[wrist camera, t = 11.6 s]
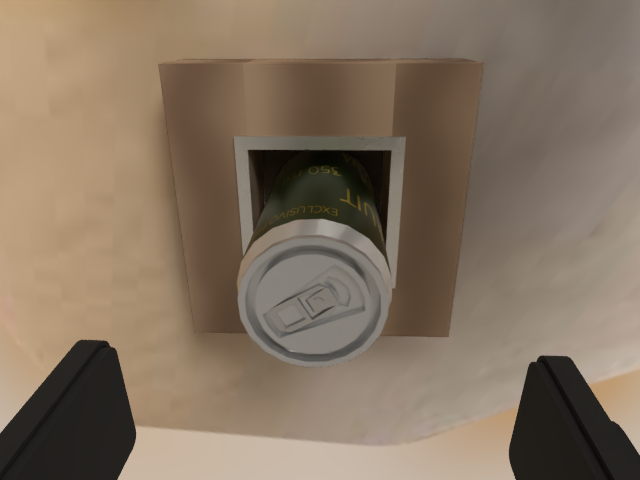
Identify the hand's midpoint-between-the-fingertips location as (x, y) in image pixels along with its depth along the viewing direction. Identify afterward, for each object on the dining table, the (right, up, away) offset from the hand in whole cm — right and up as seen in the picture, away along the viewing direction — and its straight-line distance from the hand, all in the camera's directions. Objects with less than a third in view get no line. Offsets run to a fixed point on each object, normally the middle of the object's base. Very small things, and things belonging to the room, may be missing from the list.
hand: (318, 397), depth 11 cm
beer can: (0, +6, +16) cm, 17 cm away
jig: (0, +6, +15) cm, 17 cm away
